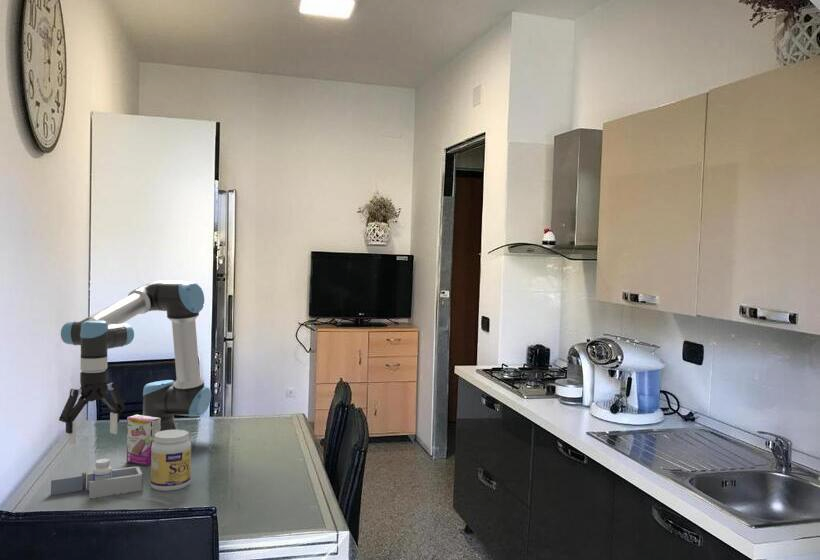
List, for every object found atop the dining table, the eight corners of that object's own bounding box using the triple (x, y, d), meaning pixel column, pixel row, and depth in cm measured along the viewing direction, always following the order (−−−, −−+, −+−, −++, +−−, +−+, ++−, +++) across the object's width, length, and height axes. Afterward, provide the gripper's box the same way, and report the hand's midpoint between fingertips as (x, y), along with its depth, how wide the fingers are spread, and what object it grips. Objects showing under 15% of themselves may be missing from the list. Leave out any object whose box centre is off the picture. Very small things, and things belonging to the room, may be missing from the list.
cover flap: (86, 489, 196) (86, 473, 196) (50, 495, 191) (51, 478, 191) (85, 488, 197) (86, 472, 197) (50, 494, 192) (50, 477, 192)
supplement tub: (166, 495, 193) (167, 441, 193) (142, 486, 200) (142, 434, 199) (198, 483, 204) (199, 432, 203) (174, 476, 210) (175, 426, 210)
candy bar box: (125, 462, 222) (126, 417, 222) (136, 458, 227) (136, 413, 226) (151, 467, 218) (151, 420, 218) (161, 462, 223) (161, 417, 223)
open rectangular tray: (138, 481, 205) (138, 466, 204) (142, 490, 197) (143, 474, 197) (86, 489, 197) (86, 473, 196) (89, 498, 189) (89, 482, 189)
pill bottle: (97, 488, 198) (97, 457, 197) (114, 488, 198) (115, 457, 198) (89, 494, 192) (90, 463, 192) (107, 494, 193) (108, 463, 192)
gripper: (123, 363, 207) (122, 427, 208) (46, 375, 186) (46, 445, 186) (137, 366, 203) (136, 431, 204) (60, 378, 182) (60, 450, 182)
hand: (93, 438), depth 195 cm, fingers open, 13 cm apart
